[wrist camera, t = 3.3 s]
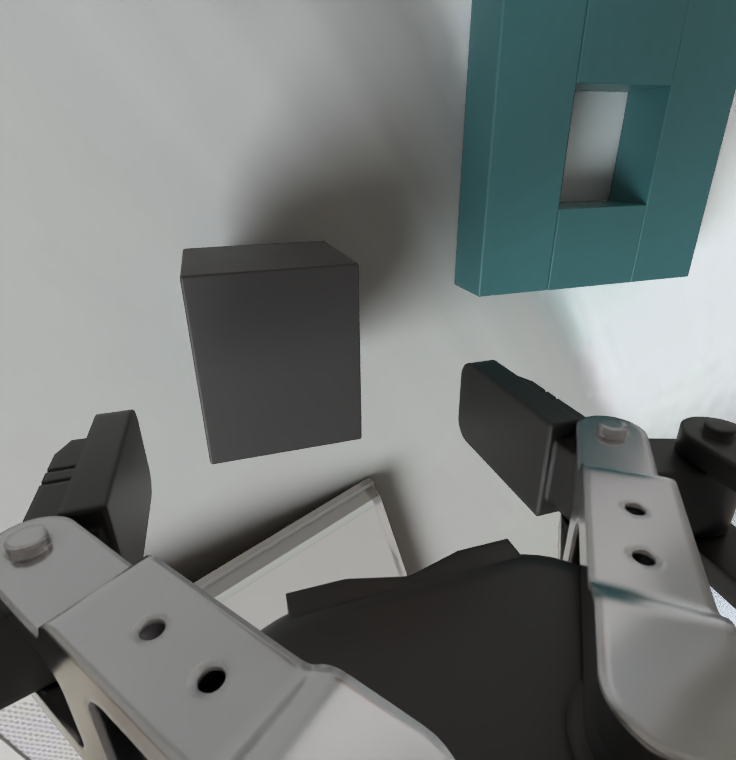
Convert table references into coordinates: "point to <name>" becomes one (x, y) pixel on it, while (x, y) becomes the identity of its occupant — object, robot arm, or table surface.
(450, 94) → the table surface
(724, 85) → the teal square frame
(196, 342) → the black block
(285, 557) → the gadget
